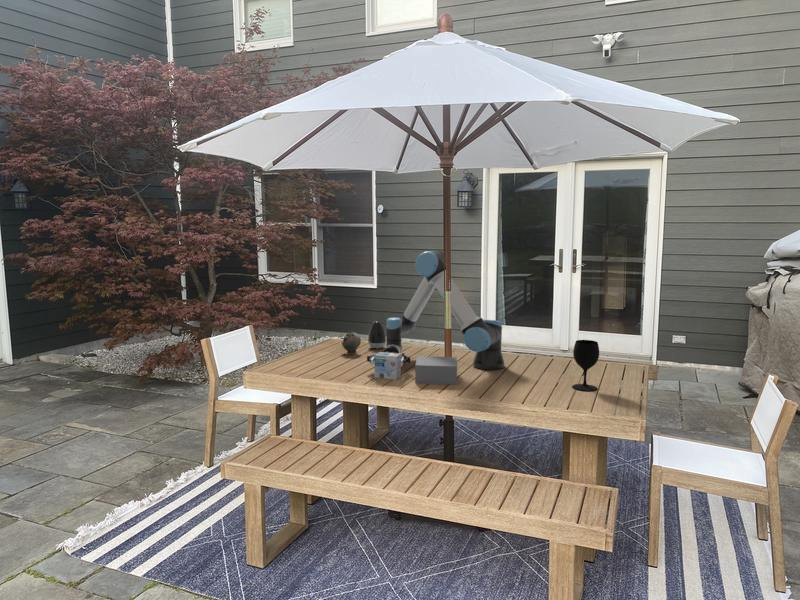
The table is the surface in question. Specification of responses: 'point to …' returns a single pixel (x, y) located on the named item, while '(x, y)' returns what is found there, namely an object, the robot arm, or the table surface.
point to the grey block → (436, 370)
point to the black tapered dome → (377, 335)
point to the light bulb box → (387, 365)
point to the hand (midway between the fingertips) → (386, 363)
